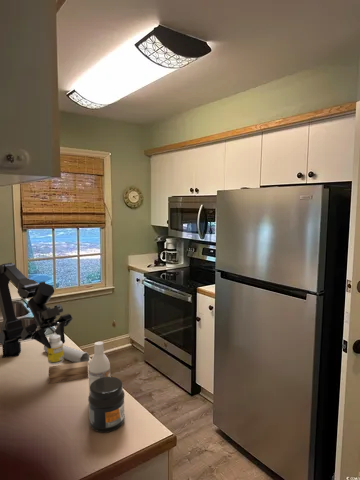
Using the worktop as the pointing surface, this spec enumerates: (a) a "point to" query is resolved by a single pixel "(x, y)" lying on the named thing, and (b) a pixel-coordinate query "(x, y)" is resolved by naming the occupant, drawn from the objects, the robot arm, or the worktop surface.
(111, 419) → the supplement container
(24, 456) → the worktop surface
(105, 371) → the bath foam
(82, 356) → the tube
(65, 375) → the ridge
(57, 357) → the supplement bottle
